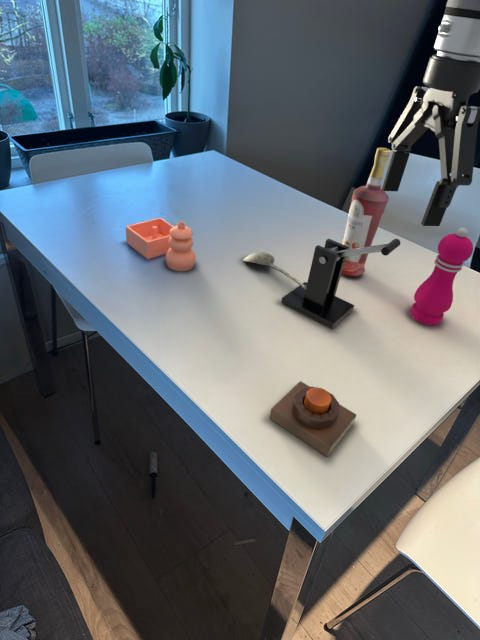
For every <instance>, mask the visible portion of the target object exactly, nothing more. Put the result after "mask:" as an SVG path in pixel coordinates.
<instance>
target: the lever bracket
mask: <svg viewBox="0 0 480 640" xmlns="http://www.w3.org/2000/svg"><path fill="white" fill-rule="evenodd" d="M330 247H338V250H339V251H340V250H347V249H348V248H349V247H348V246H346V245H343V243H341V242H339V241H336V240H333V239H331V238H327V239H326V240H325V243H324V246H322V245H319V244H318V245H316V246H315V247H314V252H313V256H312V260H311V264H310V269H309V273H308V278H307V281H304V282H302V284H304V285H306V291H305V289H303V287H302V286H301V285H298V286H297V287H295V288H294V289H293V290H291V291H290V292H288V293H287V294H285V295H284V296H283V297H281V301H280V303H281V304H283V305H285V306H286V307H288V308H290V309H292V310H293V311H296V312H298V313H299V314H302V315H304V316H306V317H308V318H310V319H312V320H314V321H315V322H317V323H319V324H321V325H323V326H324V327H327V328H329V329H331V330H333V329H334V328H335V327H336V326H337V325H338V324H339V323H340V322H342V321H343V320H344V319H345V318H346V317H348V315H350V313H351V312H353V311H354V308H355V304H353V303H351V302H348V301H347V300H345V299H342V298H340V297H339V296H336V294H337V292H338V291H337V290H338V287H339V284H340V280H341V276H342V274H341V273H342V269H343V266H344V262H345V259H346V256H344V257H340V259H339V260H338V261H337V258H338V253H336V252H333V251H331V250H329V249H326V248H330Z"/></svg>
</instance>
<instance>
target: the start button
mask: <svg viewBox="0 0 480 640" xmlns="http://www.w3.org/2000/svg"><path fill="white" fill-rule="evenodd" d="M321 388H322V387H317V388H311V389H309V390H308V391H307V393H306V397H305V400H304V405H305V407H306V408H307V409H308V410H309V411H310V412H312V413H315V414H323V413H325V412H327V411H328V409H329V406H330V403H331V396H330V394H329V393H330V392H329V391H328V390H326V389H324V388H322V389H321ZM327 391H328V392H329V393H328V392H327Z"/></svg>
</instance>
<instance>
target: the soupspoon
mask: <svg viewBox="0 0 480 640" xmlns="http://www.w3.org/2000/svg"><path fill="white" fill-rule="evenodd" d="M242 261H243V262H247V263H253V264H257V265H263V266H267V267H270V268H273V269H274V270H277V271H278V272H280V273H282V274H283V275H285V276H286V277H288V278H289V279H290V280H292V281H293V282H295V283H297V285H298V286H300V285H301V286H302V287H303V289H305V291H306V285H304V284H303V282H301V281H300V280H298V279H297V278H296V277H294V276H293V275H292V274H290V273H288V272H287V271H286V270H284V269H282V268H281V267H279V266H277V265H275V264H274V263H275V257H274V255H272V254H270V253H268V252H264V251H263V252H262V251H258V252H253V253H249V254H248V255H247V256H245V257H244V258H243V259H242Z"/></svg>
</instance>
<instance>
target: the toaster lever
mask: <svg viewBox="0 0 480 640" xmlns="http://www.w3.org/2000/svg"><path fill="white" fill-rule="evenodd" d="M400 246H401V240H400V239H399V238H394V239H392V240H391V241H390V242H389V243H383V244H376V245H371V246H369V247H362V248H354V249H347V250H340V251H339V250H338V247H330V248H326V249H329V250H331V251H333V252H336V253H338V258H337V261H338V260H339V259H340V257H344V256H352V255H360V254H368V253H369V254H374V253H381V255H382V256H384V257H385V256H389V255H390V254H391V253H392V252H393V251H395V250H396V249H397V248H398V247H400ZM369 254H368V255H369Z"/></svg>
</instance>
